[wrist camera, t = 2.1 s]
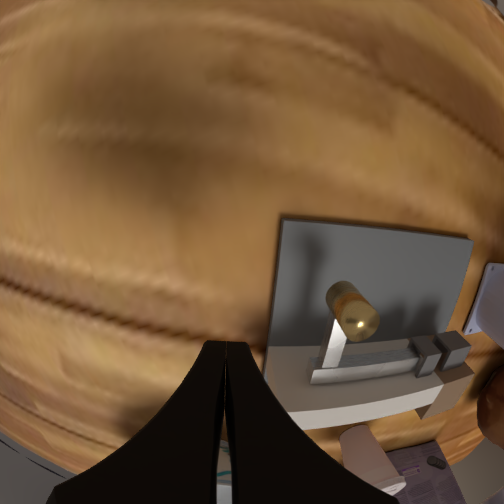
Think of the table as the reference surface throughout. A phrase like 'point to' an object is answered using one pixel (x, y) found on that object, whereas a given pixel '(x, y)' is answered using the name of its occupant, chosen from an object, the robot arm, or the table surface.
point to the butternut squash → (492, 408)
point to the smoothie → (369, 460)
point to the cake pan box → (425, 476)
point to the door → (390, 312)
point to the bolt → (355, 329)
